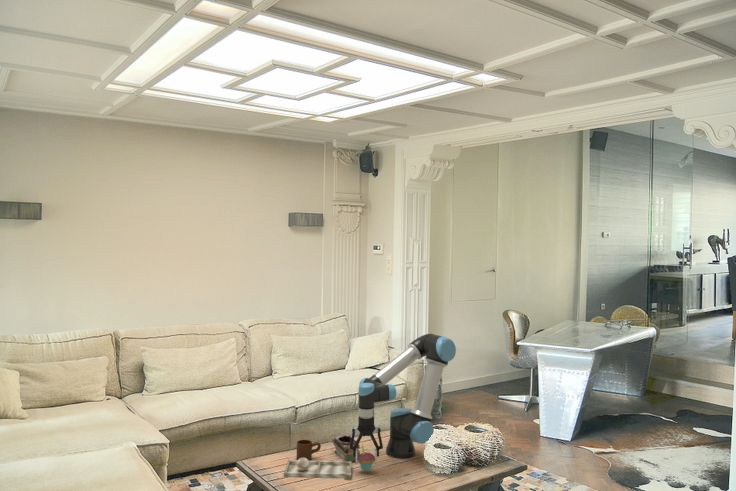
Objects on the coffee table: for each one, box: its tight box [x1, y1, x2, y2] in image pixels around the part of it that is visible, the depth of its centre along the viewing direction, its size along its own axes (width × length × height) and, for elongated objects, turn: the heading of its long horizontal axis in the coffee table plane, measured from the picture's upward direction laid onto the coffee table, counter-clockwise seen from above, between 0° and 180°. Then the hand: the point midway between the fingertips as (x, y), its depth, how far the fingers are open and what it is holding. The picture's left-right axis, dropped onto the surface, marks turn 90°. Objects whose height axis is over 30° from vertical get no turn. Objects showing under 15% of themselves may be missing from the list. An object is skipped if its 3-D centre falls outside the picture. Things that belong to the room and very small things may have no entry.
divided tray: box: [283, 459, 352, 481], centre depth 290 cm, size 31×16×2 cm, turn 91°
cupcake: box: [357, 444, 375, 471], centre depth 292 cm, size 9×8×12 cm
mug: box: [296, 439, 322, 461], centre depth 305 cm, size 12×8×9 cm, turn 99°
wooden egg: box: [297, 457, 309, 471], centre depth 290 cm, size 6×6×6 cm
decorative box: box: [331, 434, 361, 463], centre depth 312 cm, size 13×20×10 cm, turn 18°
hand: (366, 463), depth 292 cm, fingers closed on cupcake, 8 cm apart
